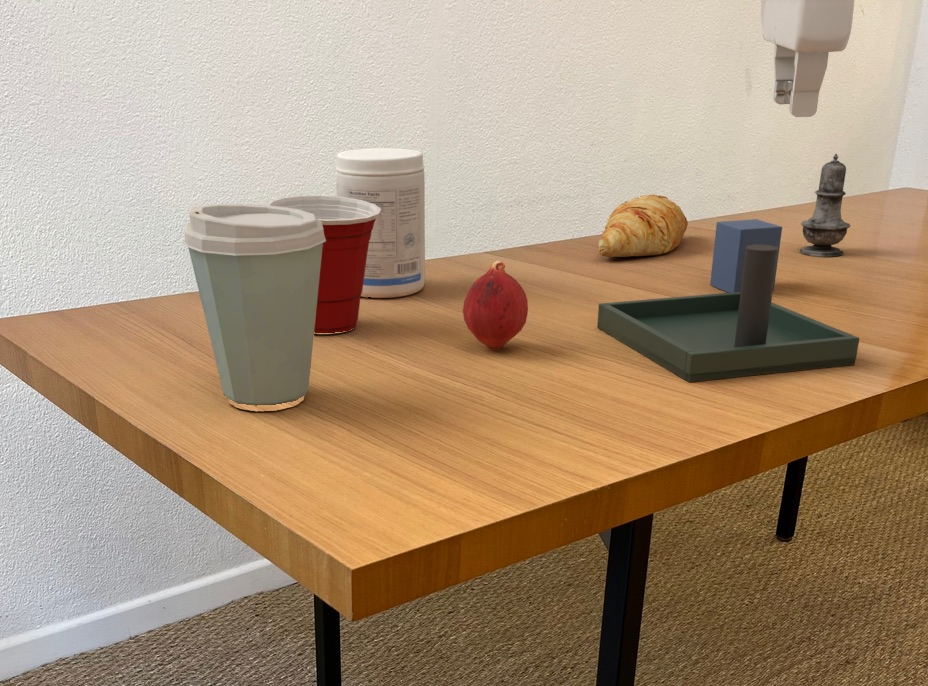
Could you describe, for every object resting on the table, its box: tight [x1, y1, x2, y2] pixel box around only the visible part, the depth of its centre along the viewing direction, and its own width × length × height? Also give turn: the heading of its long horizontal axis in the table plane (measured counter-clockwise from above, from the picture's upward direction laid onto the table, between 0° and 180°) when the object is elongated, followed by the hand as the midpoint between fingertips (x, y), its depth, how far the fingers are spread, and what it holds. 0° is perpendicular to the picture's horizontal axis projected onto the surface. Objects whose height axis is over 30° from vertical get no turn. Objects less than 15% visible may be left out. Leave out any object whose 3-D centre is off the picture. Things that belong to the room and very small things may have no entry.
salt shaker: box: [799, 153, 851, 258], centre depth 131 cm, size 6×6×12 cm
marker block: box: [709, 218, 783, 293], centre depth 115 cm, size 5×5×7 cm
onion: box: [462, 260, 529, 350], centre depth 94 cm, size 6×6×8 cm
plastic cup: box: [266, 195, 381, 333], centre depth 101 cm, size 11×11×12 cm
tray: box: [596, 245, 860, 383], centre depth 94 cm, size 16×18×10 cm
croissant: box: [597, 194, 689, 258], centre depth 135 cm, size 21×10×8 cm, turn 143°
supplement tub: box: [335, 147, 426, 299], centre depth 115 cm, size 10×10×15 cm
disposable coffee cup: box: [183, 203, 326, 406], centre depth 81 cm, size 11×11×15 cm
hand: (792, 109), depth 83 cm, fingers open, 8 cm apart
